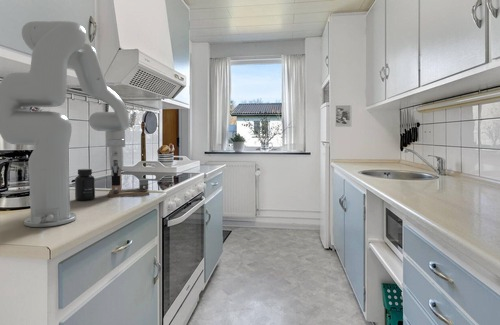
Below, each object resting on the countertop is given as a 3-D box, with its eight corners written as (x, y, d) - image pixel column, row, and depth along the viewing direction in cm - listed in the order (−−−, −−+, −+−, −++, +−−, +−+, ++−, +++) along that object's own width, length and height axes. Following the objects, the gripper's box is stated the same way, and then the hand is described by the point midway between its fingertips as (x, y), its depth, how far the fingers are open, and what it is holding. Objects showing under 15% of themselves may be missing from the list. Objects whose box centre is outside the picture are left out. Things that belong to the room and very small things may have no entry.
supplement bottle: (89, 201, 114) (88, 170, 113) (71, 201, 114) (70, 170, 113) (98, 198, 121) (97, 168, 120) (81, 197, 121) (81, 168, 120)
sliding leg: (120, 191, 124) (120, 172, 124) (111, 191, 123) (111, 172, 122) (121, 188, 130) (120, 170, 129) (112, 189, 129) (111, 170, 128)
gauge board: (149, 194, 129) (149, 180, 128) (108, 197, 123) (107, 182, 122) (148, 191, 137) (147, 178, 136) (109, 193, 131) (109, 179, 130)
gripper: (124, 144, 119) (125, 186, 121) (125, 143, 135) (126, 180, 137) (104, 144, 117) (105, 187, 118) (107, 143, 133) (108, 181, 134)
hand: (116, 183), depth 127 cm, fingers open, 9 cm apart
